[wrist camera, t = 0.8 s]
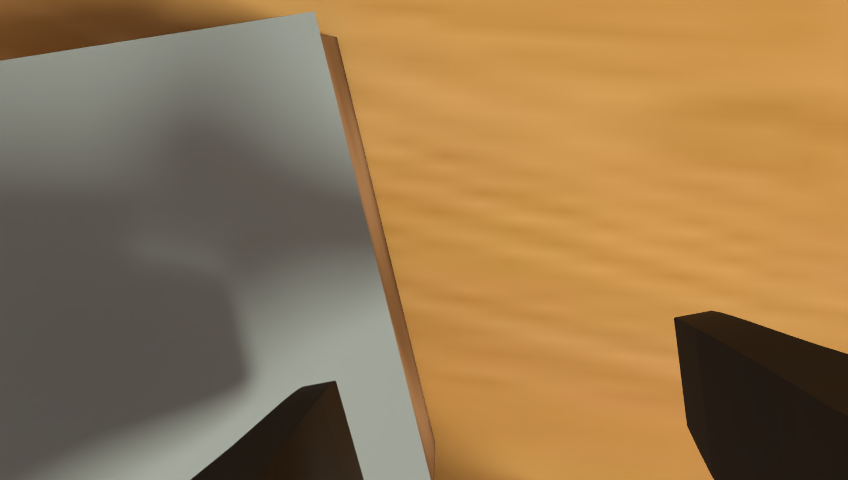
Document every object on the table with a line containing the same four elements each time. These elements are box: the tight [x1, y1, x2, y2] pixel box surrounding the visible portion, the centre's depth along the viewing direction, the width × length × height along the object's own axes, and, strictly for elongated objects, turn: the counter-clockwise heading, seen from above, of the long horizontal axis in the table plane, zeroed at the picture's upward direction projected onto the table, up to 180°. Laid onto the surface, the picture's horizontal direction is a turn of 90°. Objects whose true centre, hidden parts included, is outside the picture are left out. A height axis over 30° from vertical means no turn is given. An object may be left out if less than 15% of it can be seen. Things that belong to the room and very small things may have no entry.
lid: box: [0, 12, 431, 480], centre depth 14 cm, size 15×11×3 cm
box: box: [320, 35, 435, 480], centre depth 19 cm, size 14×10×5 cm
